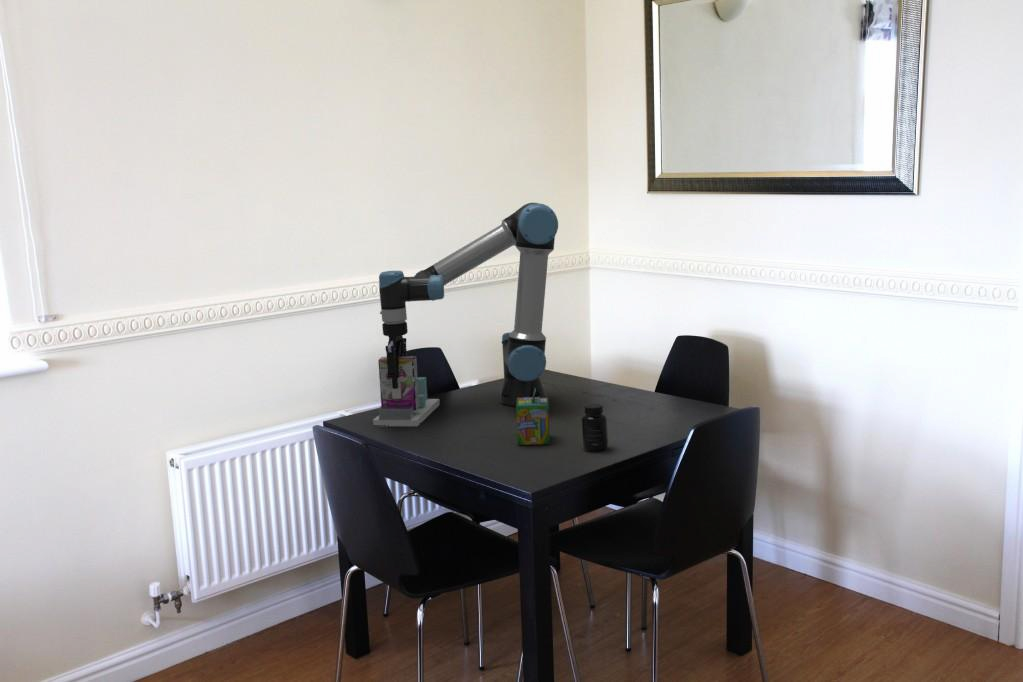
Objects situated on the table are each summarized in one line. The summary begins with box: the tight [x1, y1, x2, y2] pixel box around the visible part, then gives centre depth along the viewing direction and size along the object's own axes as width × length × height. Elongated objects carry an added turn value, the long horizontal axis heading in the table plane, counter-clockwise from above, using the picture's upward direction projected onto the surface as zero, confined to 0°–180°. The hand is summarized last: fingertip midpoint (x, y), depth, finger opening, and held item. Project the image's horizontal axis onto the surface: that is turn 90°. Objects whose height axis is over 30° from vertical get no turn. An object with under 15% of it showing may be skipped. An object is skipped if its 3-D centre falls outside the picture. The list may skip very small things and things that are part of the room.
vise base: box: [372, 398, 441, 427], centre depth 295 cm, size 26×14×6 cm, turn 169°
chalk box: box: [515, 388, 551, 446], centre depth 260 cm, size 9×9×15 cm
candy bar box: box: [377, 355, 419, 411], centre depth 287 cm, size 11×5×16 cm, turn 84°
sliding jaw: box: [418, 376, 428, 407], centre depth 301 cm, size 12×10×7 cm
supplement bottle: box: [581, 403, 609, 453], centre depth 250 cm, size 7×7×12 cm
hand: (400, 395), depth 288 cm, fingers closed on candy bar box, 5 cm apart
